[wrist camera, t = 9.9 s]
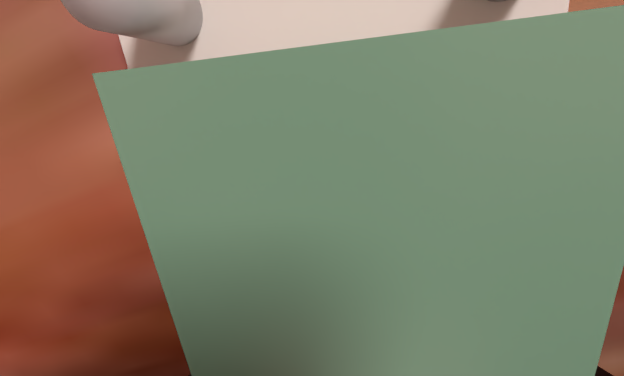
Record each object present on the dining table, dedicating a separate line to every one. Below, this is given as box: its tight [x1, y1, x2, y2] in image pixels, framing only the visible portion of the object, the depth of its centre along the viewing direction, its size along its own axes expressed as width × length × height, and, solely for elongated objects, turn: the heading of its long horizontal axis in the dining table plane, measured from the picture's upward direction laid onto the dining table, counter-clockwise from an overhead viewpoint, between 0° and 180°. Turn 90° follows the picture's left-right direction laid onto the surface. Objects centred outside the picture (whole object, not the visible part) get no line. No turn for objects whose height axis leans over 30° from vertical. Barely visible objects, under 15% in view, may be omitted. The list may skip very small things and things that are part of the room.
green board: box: [92, 5, 624, 376], centre depth 7 cm, size 5×12×4 cm, turn 6°
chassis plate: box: [61, 0, 569, 69], centre depth 10 cm, size 12×18×4 cm, turn 7°
